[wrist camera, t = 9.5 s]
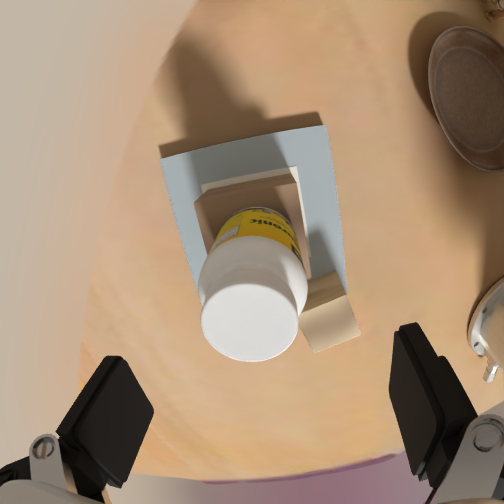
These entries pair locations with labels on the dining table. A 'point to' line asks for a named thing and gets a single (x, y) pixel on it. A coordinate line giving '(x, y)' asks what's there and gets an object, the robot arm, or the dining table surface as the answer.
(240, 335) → the supplement bottle
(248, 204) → the walnut block
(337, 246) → the board
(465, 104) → the saucer
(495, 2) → the lion figurine
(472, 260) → the dining table surface
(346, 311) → the oak cube
